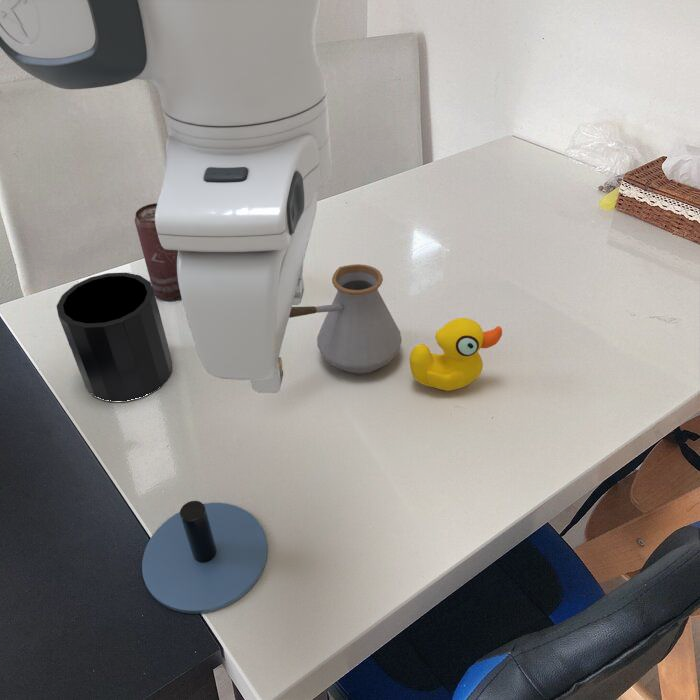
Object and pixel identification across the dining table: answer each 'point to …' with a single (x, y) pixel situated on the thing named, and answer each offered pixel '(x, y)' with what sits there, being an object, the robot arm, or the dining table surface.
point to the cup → (116, 335)
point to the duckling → (453, 355)
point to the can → (157, 256)
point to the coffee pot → (356, 322)
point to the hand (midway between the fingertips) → (281, 339)
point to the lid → (204, 557)
